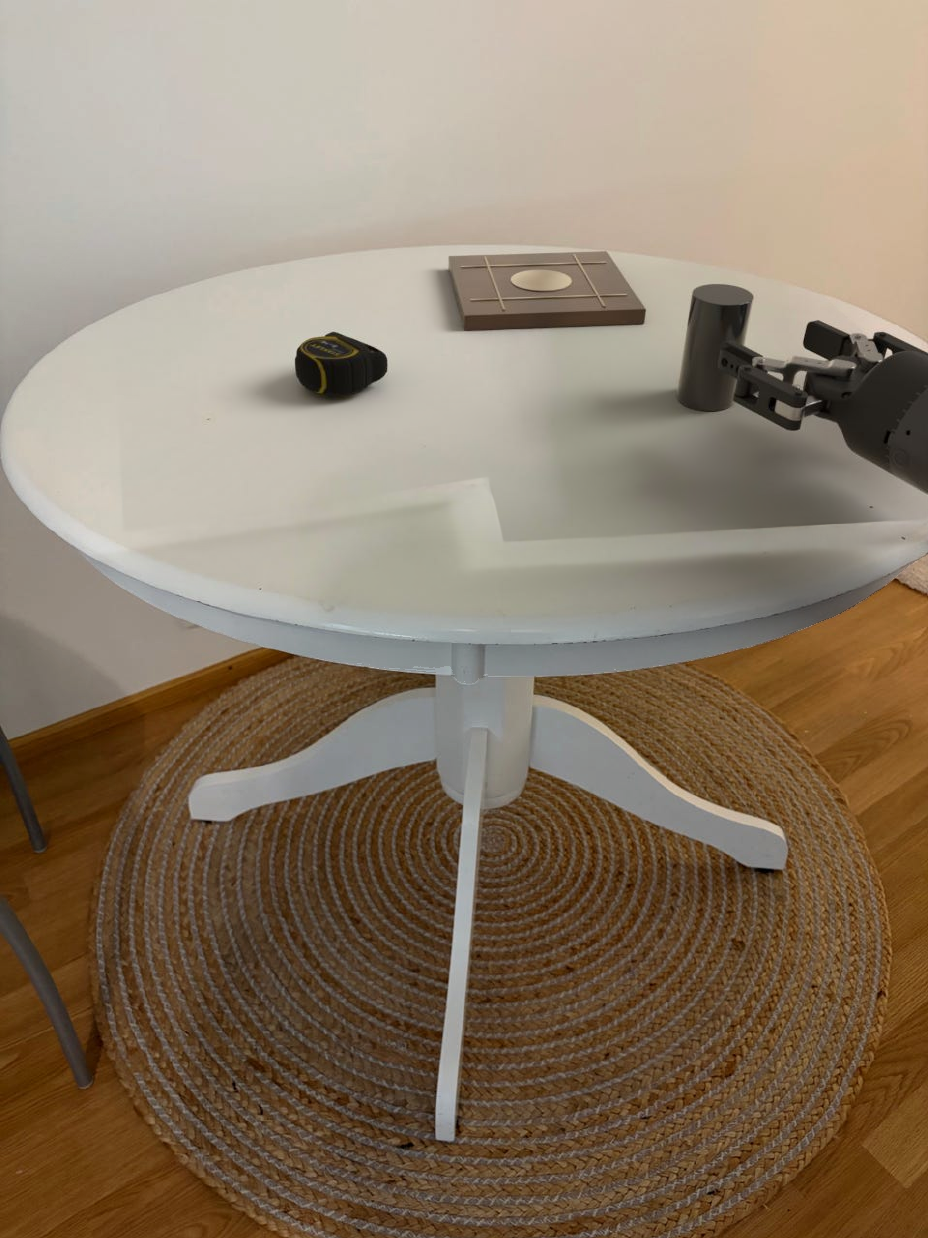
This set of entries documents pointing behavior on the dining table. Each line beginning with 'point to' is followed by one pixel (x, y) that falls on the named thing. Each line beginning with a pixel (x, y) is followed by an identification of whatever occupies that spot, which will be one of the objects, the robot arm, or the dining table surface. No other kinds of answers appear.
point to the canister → (712, 345)
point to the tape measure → (338, 364)
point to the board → (542, 291)
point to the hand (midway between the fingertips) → (766, 342)
